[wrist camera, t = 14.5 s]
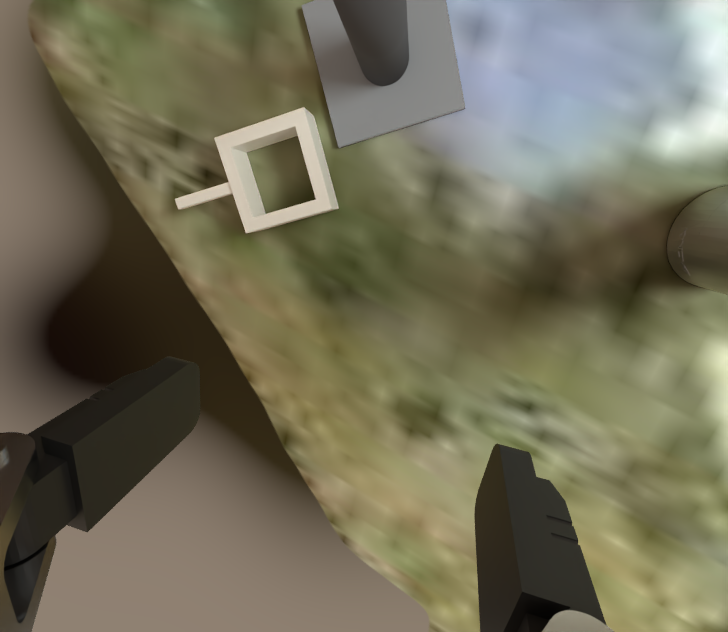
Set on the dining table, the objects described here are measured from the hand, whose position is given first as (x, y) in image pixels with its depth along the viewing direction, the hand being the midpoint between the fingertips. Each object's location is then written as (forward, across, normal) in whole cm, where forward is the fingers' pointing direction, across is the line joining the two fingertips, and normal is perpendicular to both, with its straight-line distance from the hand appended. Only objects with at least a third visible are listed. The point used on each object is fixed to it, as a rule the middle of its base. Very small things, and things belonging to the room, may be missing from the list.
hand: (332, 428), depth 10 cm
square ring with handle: (+30, +18, -3) cm, 35 cm away
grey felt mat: (+32, +7, -15) cm, 36 cm away
